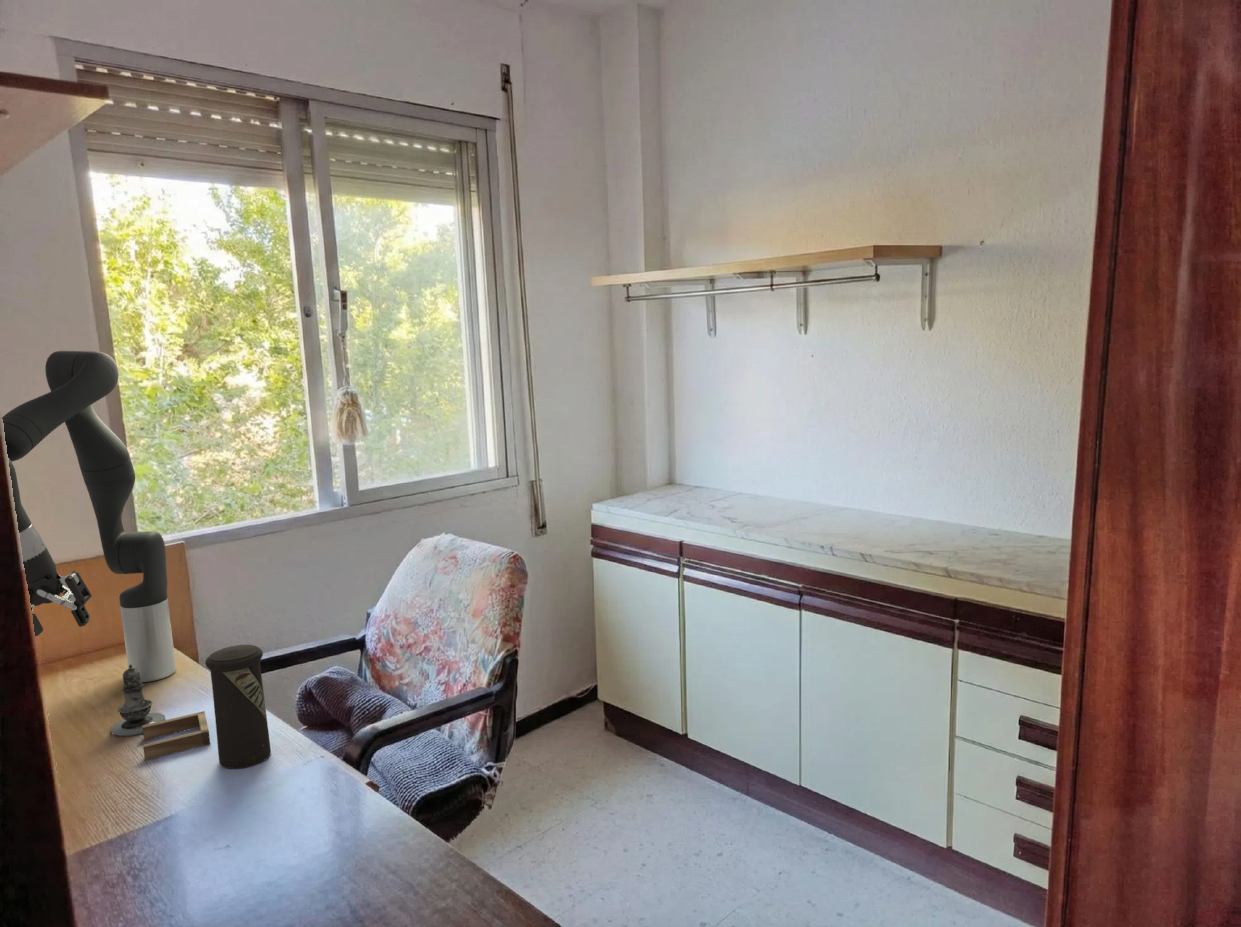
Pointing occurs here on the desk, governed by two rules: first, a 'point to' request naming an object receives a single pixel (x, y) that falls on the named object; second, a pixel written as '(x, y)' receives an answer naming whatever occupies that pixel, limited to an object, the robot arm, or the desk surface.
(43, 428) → the robot arm
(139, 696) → the stone finial
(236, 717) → the container
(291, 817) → the desk surface
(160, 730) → the wooden arch
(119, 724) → the grey oval disc
